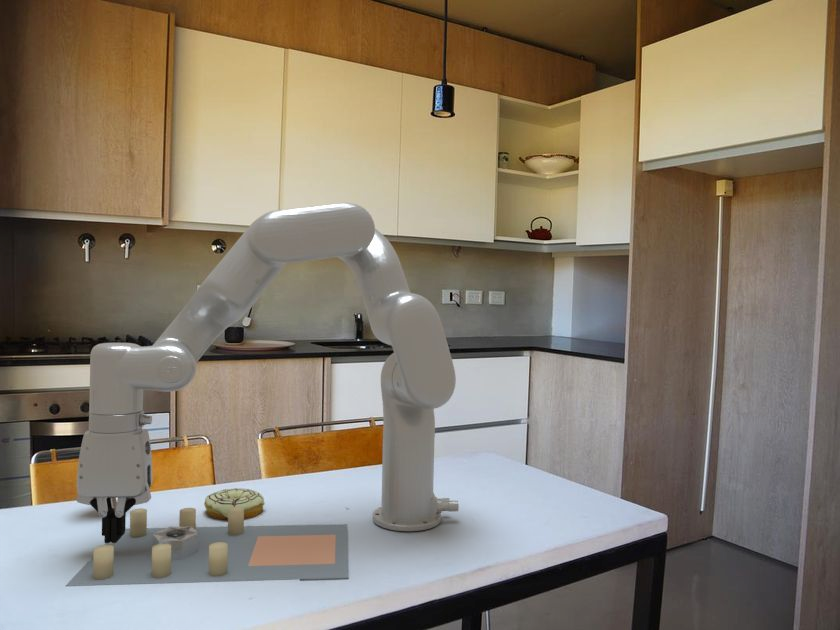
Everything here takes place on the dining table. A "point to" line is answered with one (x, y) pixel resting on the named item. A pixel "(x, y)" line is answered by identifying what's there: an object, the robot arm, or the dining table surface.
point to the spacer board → (199, 562)
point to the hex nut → (178, 541)
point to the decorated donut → (234, 502)
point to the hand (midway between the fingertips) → (113, 539)
